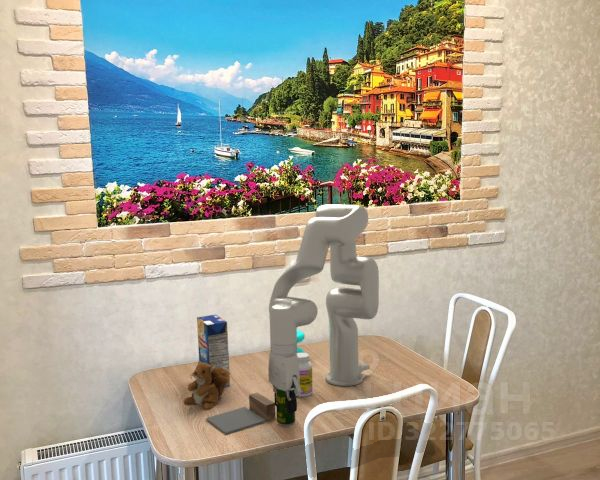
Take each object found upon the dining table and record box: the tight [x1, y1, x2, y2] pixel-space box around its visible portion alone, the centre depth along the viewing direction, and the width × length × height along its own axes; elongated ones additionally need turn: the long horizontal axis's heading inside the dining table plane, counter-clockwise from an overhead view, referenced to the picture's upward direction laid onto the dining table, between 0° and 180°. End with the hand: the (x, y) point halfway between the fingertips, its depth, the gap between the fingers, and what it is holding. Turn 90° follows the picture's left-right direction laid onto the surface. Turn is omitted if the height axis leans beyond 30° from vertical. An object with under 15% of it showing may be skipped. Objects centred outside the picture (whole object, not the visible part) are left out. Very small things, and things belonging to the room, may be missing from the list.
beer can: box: [275, 386, 296, 428], centre depth 183 cm, size 5×5×12 cm
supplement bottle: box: [297, 352, 313, 398], centre depth 204 cm, size 7×7×13 cm
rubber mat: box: [205, 406, 267, 435], centre depth 186 cm, size 13×12×1 cm
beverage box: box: [196, 314, 231, 388], centre depth 215 cm, size 7×11×22 cm, turn 27°
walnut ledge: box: [248, 392, 276, 421], centre depth 191 cm, size 3×10×4 cm, turn 35°
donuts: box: [297, 329, 306, 353], centre depth 238 cm, size 10×10×10 cm
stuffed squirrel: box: [183, 360, 231, 410], centre depth 200 cm, size 10×14×13 cm
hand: (285, 408), depth 183 cm, fingers closed on beer can, 5 cm apart
